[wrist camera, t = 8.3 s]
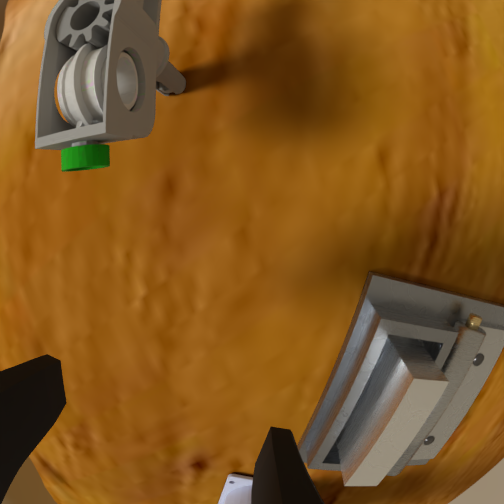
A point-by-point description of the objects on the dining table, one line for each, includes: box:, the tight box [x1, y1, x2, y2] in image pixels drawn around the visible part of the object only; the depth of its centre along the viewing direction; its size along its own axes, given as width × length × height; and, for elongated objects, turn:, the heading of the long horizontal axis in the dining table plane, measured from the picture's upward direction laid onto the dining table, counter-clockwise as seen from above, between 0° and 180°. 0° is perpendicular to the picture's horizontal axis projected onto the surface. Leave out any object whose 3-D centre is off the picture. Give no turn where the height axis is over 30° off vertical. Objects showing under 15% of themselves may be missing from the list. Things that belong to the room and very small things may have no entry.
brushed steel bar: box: [336, 334, 449, 486], centre depth 16 cm, size 9×2×5 cm, turn 167°
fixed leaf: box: [297, 271, 504, 476], centre depth 18 cm, size 16×13×3 cm
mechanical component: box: [35, 0, 186, 171], centre depth 11 cm, size 3×10×10 cm, turn 1°
